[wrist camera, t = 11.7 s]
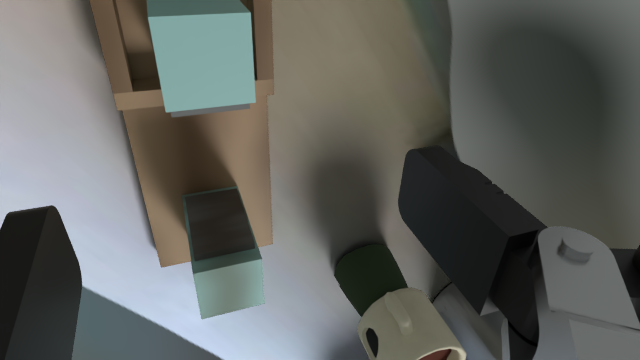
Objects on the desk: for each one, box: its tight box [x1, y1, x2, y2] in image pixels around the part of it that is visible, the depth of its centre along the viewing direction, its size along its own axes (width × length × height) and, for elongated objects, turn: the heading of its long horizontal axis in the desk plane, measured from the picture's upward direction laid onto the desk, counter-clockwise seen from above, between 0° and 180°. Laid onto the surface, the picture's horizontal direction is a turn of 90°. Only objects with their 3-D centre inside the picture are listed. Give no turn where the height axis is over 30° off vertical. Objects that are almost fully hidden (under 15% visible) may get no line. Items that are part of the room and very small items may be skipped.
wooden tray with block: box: [90, 0, 274, 319], centre depth 25 cm, size 9×23×10 cm, turn 178°
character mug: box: [334, 244, 467, 360], centre depth 38 cm, size 11×7×13 cm, turn 18°
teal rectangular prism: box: [147, 0, 256, 117], centre depth 21 cm, size 4×4×8 cm
